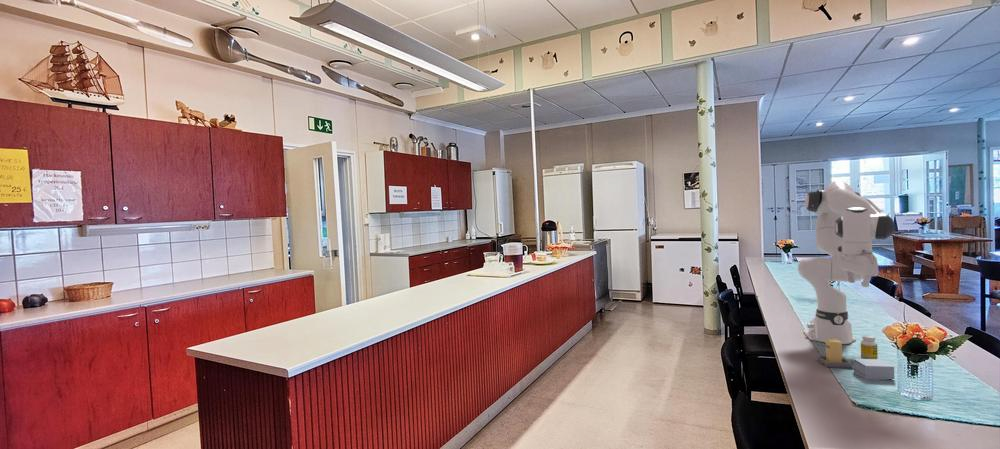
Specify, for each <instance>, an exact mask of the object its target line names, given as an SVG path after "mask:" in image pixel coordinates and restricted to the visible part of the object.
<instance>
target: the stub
mask: <svg viewBox="0 0 1000 449" xmlns="http://www.w3.org/2000/svg"><path fill="white" fill-rule="evenodd" d="M825 356H826V361H828V362H842V357H843V344H842V342H841V341H839V340H837V339H826V343H825Z"/></svg>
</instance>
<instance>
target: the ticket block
mask: <svg viewBox="0 0 1000 449" xmlns="http://www.w3.org/2000/svg"><path fill="white" fill-rule="evenodd" d="M853 373H855V374H857V375H859V376H860V377H861V378H863V379H864V380H868V381H869V380H873V381H874V380H876V381H878V380H879V381H888V380H887V379H894V380H895V366H893V365H892V364H890V363H888V362H886V361H884V360H882V359H880V358H878V359H862V358H853ZM885 379H886V380H885Z"/></svg>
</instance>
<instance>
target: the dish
mask: <svg viewBox="0 0 1000 449" xmlns="http://www.w3.org/2000/svg"><path fill="white" fill-rule="evenodd" d="M816 361H818V362H819V363H820V364H822V365H823V366H824V367H826V368H827V369H828V368H830V369H833V368H834V369H853V363H852V362H851V361H849V360H847V359H846V358H844V357H843V356H842V362H828V361H826V355H816Z"/></svg>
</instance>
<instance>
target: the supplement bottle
mask: <svg viewBox="0 0 1000 449" xmlns="http://www.w3.org/2000/svg"><path fill="white" fill-rule="evenodd" d="M878 357H879V356H878V343H877V342H876V336H874V335H869V334H867V335H866V334H863V335H862V340H861V341H860V359H879V358H878Z"/></svg>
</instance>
